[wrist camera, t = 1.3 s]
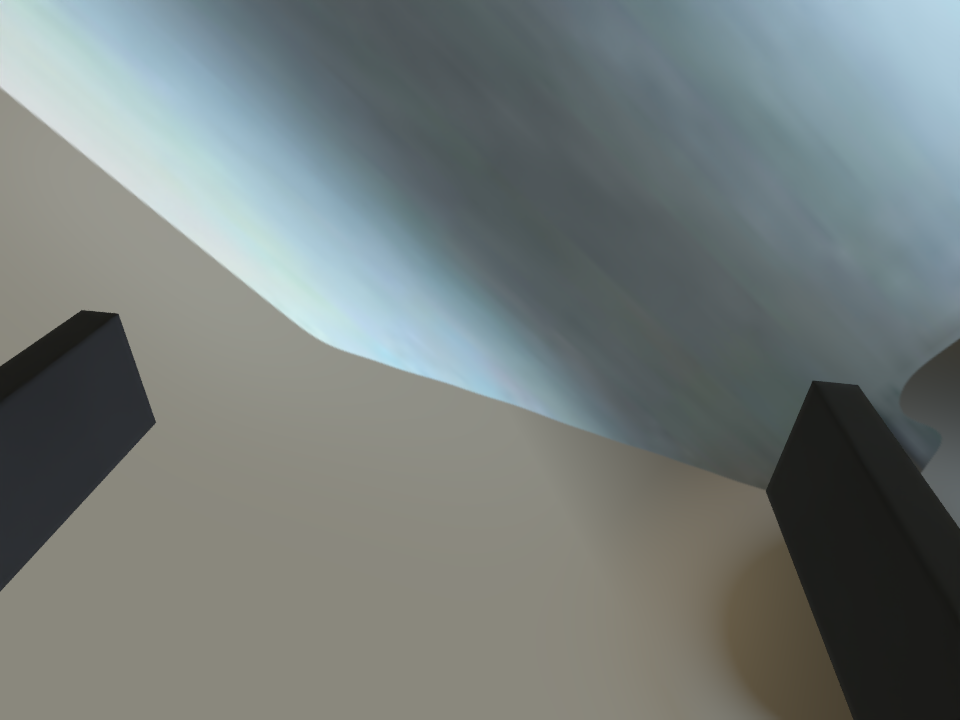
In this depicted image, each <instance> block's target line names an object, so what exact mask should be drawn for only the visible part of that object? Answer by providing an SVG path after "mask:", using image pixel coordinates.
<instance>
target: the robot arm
mask: <svg viewBox="0 0 960 720" xmlns="http://www.w3.org/2000/svg"><path fill="white" fill-rule="evenodd" d="M155 423H156V421H155V418H154V416H153V413H152V410H151V407H150V404H149V401H148V398H147V395H146V392H145V390H144V387H143V384H142V381H141V378H140V375H139V372H138V369H137V367H136V363H135V361H134V358H133V355H132V352H131V349H130V346H129V343H128V340H127V337H126V335H125V332H124V329H123V326H122V323H121V320H120V318H119V314H116V313H105V312H95V311H85V310H81V311H80V312H79V313H77V314H76V315H74V316H73V317H71V318H70V319H68V320H67V321H66V322H64V323H63V324H61V325H60V326H58V327H57V328H55V329H54V330H52V331H51V332H50V333H48V334H47V335H45V336H44V337H42V338H41V339H39V340H38V341H37V342H35V343H34V344H32V345H31V346H29V347H28V348H27V349H25V350H23V351H22V352H20V353H19V354H18V355H16V356H15V357H13V358H12V359H11V360H9V361H8V362H6V363H5V364H3V365H2V366H0V591H1V590H2V589H3V588H4V587H5V586H6V585H7V584H8V583H9V581H10V580H11V579H12V578H13V577H14V576H15V575H16V574H17V573H18V572H19V571H20V569H21V568H22V567H23V566H24V565H25V564H26V563H27V562H28V561H29V560H30V558H32V556H33V555H34V554H35V553H36V552H37V551H38V550H39V549H40V548H41V547H42V546H43V545H44V543H45V542H46V541H47V540H48V539H49V538H50V537H51V536H52V535H53V534H54V533H55V532H56V530H57V529H58V528H59V527H60V526H61V525H62V524H63V523H64V522H65V521H66V520H67V519H68V517H69V516H70V515H71V514H72V513H73V512H74V511H75V510H76V509H77V508H78V507H79V505H80V504H81V503H82V502H83V501H84V500H85V499H86V498H87V497H88V496H89V495H90V493H91V492H92V491H93V490H94V489H95V488H96V487H97V486H98V485H99V484H100V483H101V481H103V479H104V478H105V477H106V476H107V475H108V474H109V473H110V472H111V470H113V469H114V468H115V466H116V465H117V464H118V463H119V462H120V461H121V460H122V459H123V458H124V457H125V456H126V455H127V453H128V452H129V451H130V450H131V449H132V448H133V447H134V446H135V445H136V443H138V442H139V440H140V439H141V438H142V437H143V436H144V435H145V434H146V433H147V432H148V431H149V430H150V428H151V427H152V426H153V425H154V424H155ZM766 493H767V495H768V498H769V501H770V503H771V506H772V508H773V511H774V514H775V516H776V519H777V521H778V524H779V527H780V529H781V532H782V535H783V537H784V540H785V542H786V545H787V547H788V550H789V553H790V555H791V558H792V560H793V563H794V566H795V568H796V571H797V574H798V576H799V579H800V581H801V584H802V587H803V589H804V592H805V594H806V597H807V600H808V602H809V605H810V607H811V610H812V613H813V615H814V618H815V620H816V623H817V626H818V628H819V631H820V634H821V636H822V639H823V641H824V644H825V647H826V649H827V652H828V654H829V657H830V660H831V662H832V665H833V667H834V670H835V673H836V675H837V678H838V680H839V683H840V686H841V688H842V691H843V693H844V696H845V699H846V701H847V704H848V706H849V709H850V712H851V714H852V717H853V719H854V720H960V529H959V527H958V526H957V524H956V523H955V522H954V520H953V519H952V517H951V516H950V514H949V513H948V512H947V511H946V509H945V507H944V506H943V505H942V503H941V502H940V500H939V499H938V497H937V496H936V495H935V493H934V492H933V491H932V489H931V488H930V486H929V485H928V483H927V482H926V481H925V479H924V478H923V476H922V475H921V473H920V472H919V471H918V469H917V468H916V466H915V465H914V464H913V462H912V461H911V459H910V458H909V457H908V455H907V454H906V452H905V451H904V449H903V448H902V447H901V445H900V444H899V442H898V441H897V440H896V438H895V437H894V435H893V434H892V433H891V431H890V430H889V428H888V427H887V425H886V424H885V423H884V421H883V420H882V418H881V417H880V416H879V414H878V413H877V411H876V410H875V409H874V407H873V406H872V404H871V403H870V401H869V400H868V399H867V397H866V396H865V394H864V393H863V392H862V390H861V389H860V387H859V386H858V385H852V384H842V383H832V382H821V381H812V384H811V386H810V388H809V391H808V393H807V395H806V398H805V400H804V403H803V405H802V407H801V410H800V412H799V414H798V417H797V419H796V421H795V424H794V426H793V428H792V431H791V433H790V435H789V438H788V440H787V443H786V445H785V447H784V450H783V452H782V454H781V457H780V459H779V461H778V464H777V466H776V468H775V471H774V473H773V476H772V478H771V480H770V483H769V485H768V487H767V490H766Z"/></svg>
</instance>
